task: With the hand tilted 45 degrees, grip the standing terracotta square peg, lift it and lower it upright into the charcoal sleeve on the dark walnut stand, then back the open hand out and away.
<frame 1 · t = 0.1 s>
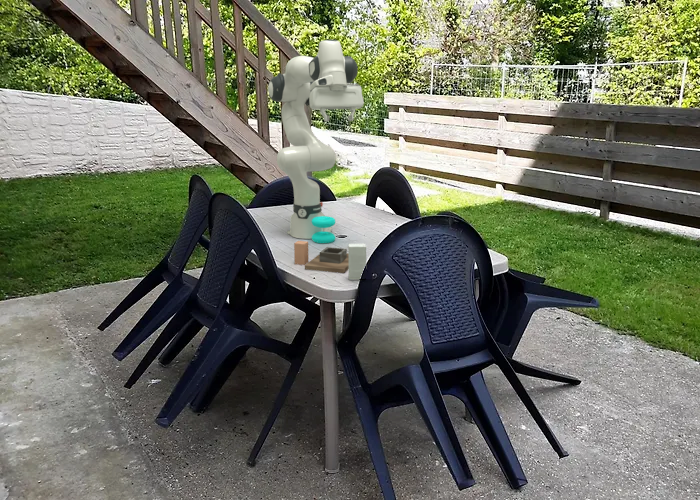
hand: (339, 120, 232), 52 cm above the table, tool tilted 20°, fingers open, 8 cm apart
donuts: (323, 241, 270), on the table
sleeve stand: (333, 263, 238), on the table
skincare box: (356, 278, 222), on the table
terracotta peg: (301, 263, 239), on the table
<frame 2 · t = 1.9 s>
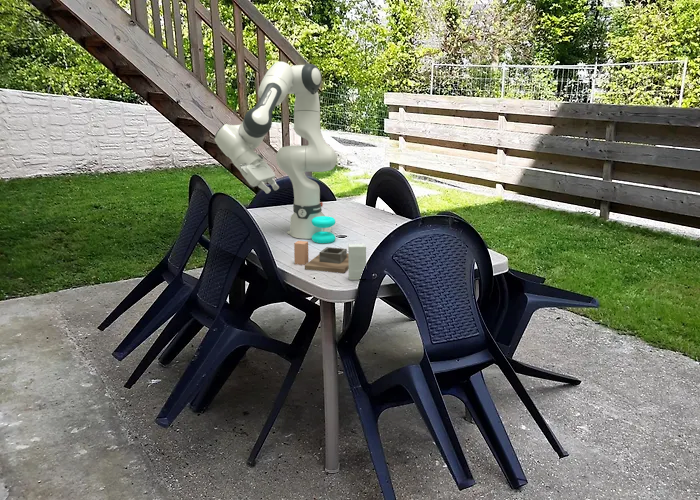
hand: (273, 190, 235), 27 cm above the table, tool tilted 45°, fingers open, 8 cm apart
nothing on the table moved.
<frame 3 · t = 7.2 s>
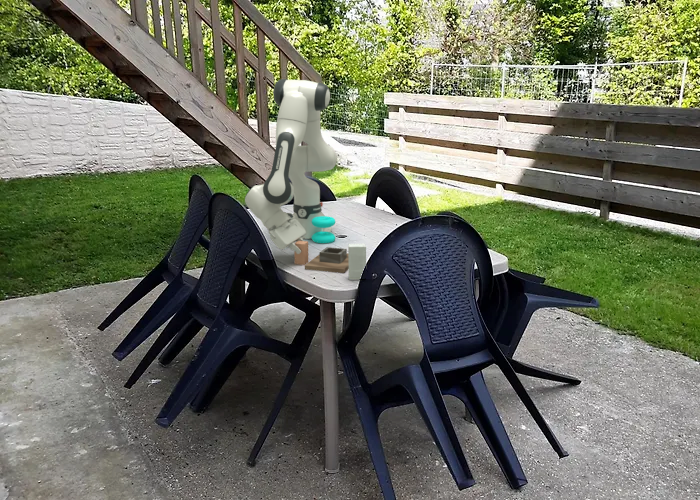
hand: (303, 250, 238), 5 cm above the table, tool tilted 45°, fingers closed on terracotta peg, 4 cm apart
terracotta peg: (301, 263, 239), on the table, touching gripper
everything else where it was.
when the fingers open (8 cm above the table, at t = 13.5 s): terracotta peg drops 1 cm, resting on sleeve stand.
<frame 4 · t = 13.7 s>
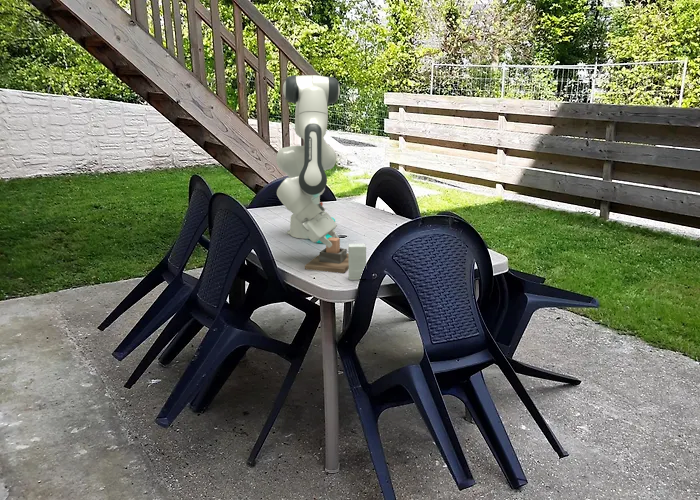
hand: (334, 243, 236), 8 cm above the table, tool tilted 45°, fingers open, 6 cm apart
terracotta peg: (333, 259, 238), point 2 cm above the table, touching sleeve stand
everything else where it was.
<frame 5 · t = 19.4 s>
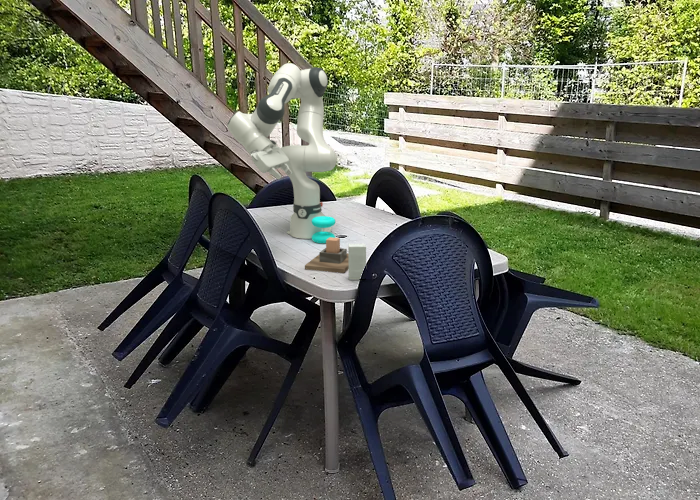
hand: (285, 176, 238), 31 cm above the table, tool tilted 45°, fingers open, 8 cm apart
nothing on the table moved.
at the end: terracotta peg 0.0 cm off-centre on the sleeve stand, point 1.5 cm above the sleeve stand's base; terracotta peg tilted 0°; the gripper is holding nothing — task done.
